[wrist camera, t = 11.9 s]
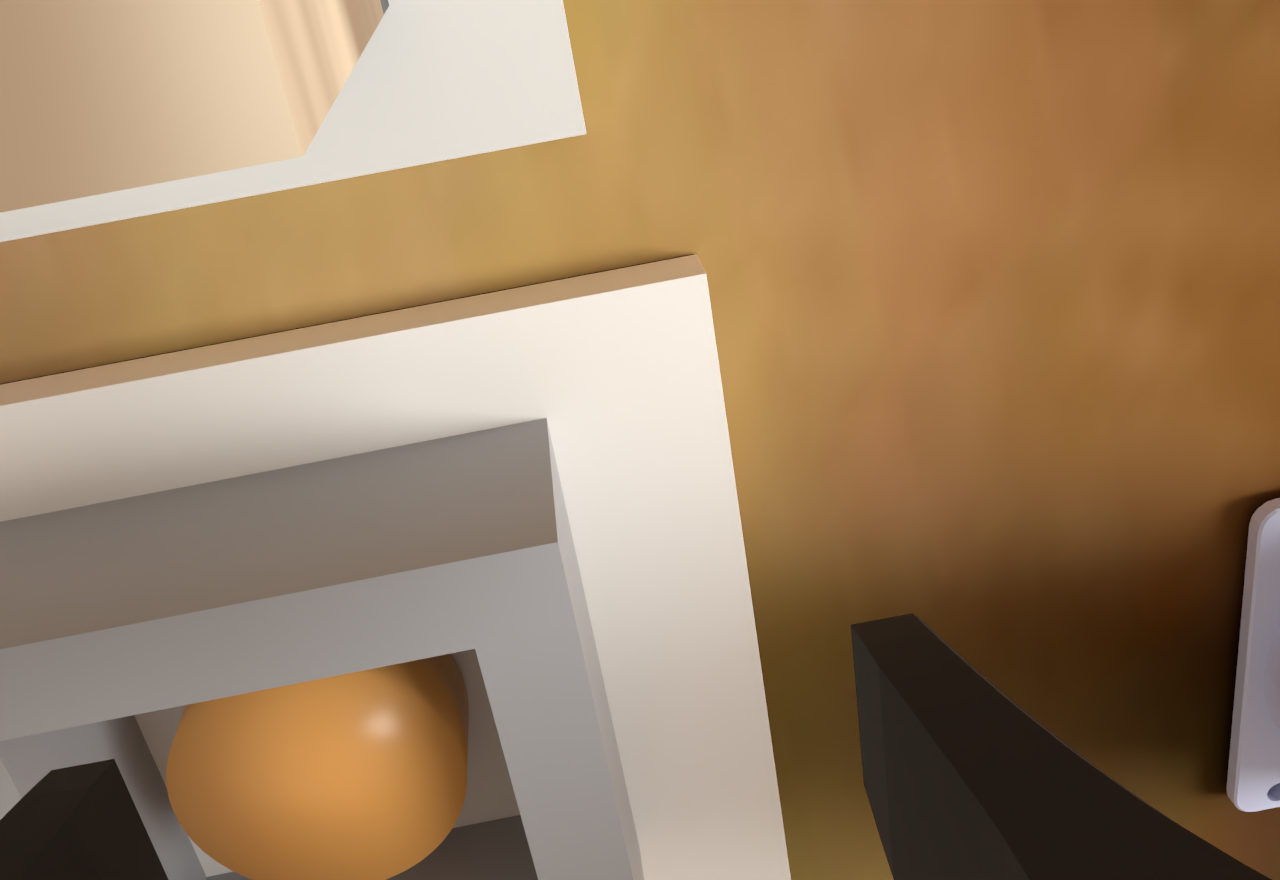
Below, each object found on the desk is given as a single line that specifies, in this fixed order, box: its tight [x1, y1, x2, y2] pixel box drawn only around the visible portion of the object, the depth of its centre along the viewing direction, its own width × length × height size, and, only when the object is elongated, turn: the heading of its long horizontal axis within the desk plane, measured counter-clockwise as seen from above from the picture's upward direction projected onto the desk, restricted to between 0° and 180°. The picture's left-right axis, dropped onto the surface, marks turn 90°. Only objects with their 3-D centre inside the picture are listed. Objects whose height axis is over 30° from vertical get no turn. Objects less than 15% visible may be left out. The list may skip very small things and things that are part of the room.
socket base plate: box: [0, 254, 791, 880], centre depth 21 cm, size 16×14×5 cm
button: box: [166, 654, 469, 880], centre depth 22 cm, size 5×5×2 cm
